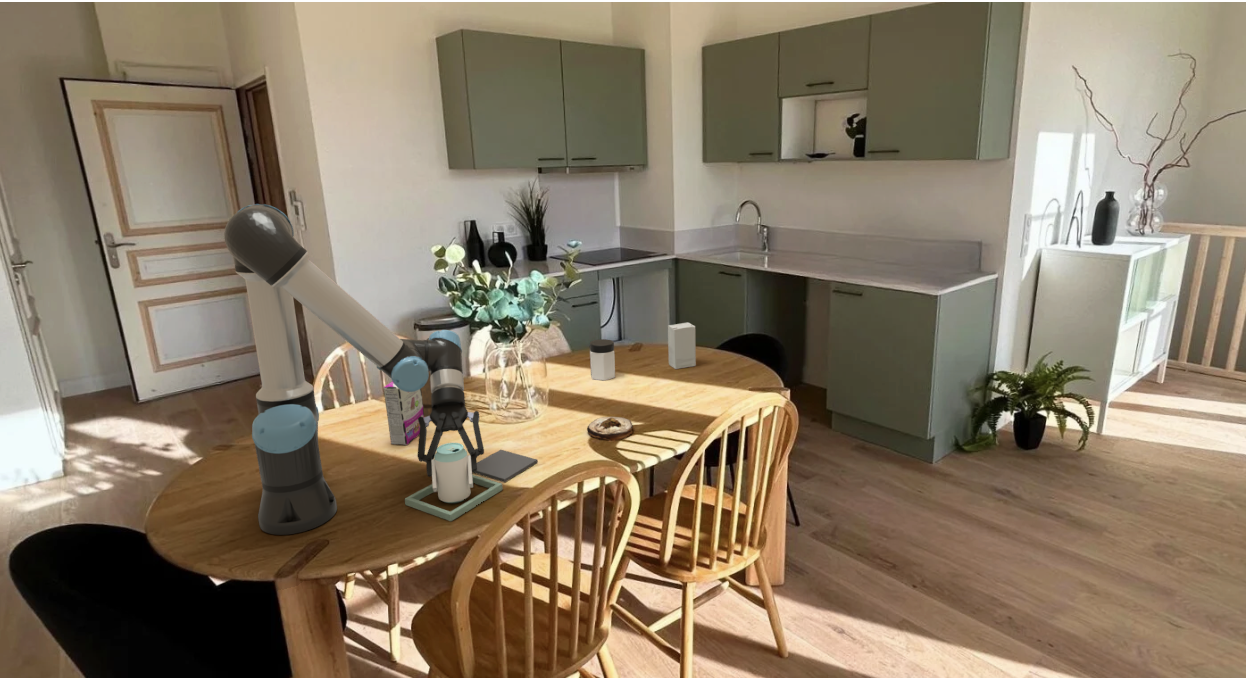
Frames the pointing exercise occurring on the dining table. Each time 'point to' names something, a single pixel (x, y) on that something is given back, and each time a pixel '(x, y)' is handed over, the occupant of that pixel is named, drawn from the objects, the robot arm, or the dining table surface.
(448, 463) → the can
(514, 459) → the coaster
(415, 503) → the corral
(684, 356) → the skincare box
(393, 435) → the candy bar box
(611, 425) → the sushi roll
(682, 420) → the dining table surface
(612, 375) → the jar
